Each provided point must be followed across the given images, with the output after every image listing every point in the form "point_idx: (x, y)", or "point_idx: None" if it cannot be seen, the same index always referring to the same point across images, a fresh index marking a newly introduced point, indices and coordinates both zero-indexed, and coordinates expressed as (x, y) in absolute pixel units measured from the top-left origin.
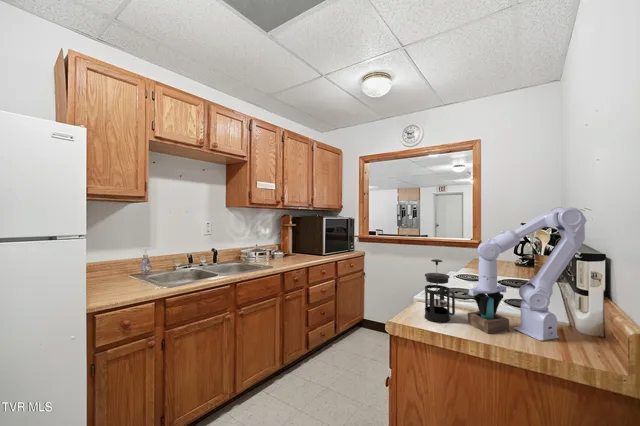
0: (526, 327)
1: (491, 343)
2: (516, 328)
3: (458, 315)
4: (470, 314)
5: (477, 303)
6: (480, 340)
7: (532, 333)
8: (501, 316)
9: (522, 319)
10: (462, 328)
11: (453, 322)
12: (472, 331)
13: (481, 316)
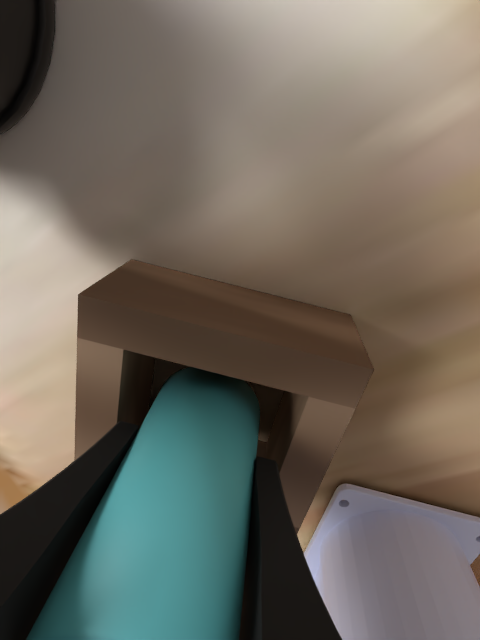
0: (324, 580)
1: (39, 480)
2: (344, 498)
3: (221, 49)
4: (80, 328)
5: (23, 510)
6: (7, 440)
7: (320, 573)
8: (301, 505)
9: (345, 615)
10: (16, 294)
11: (23, 171)
12: (51, 359)
13: (154, 403)
